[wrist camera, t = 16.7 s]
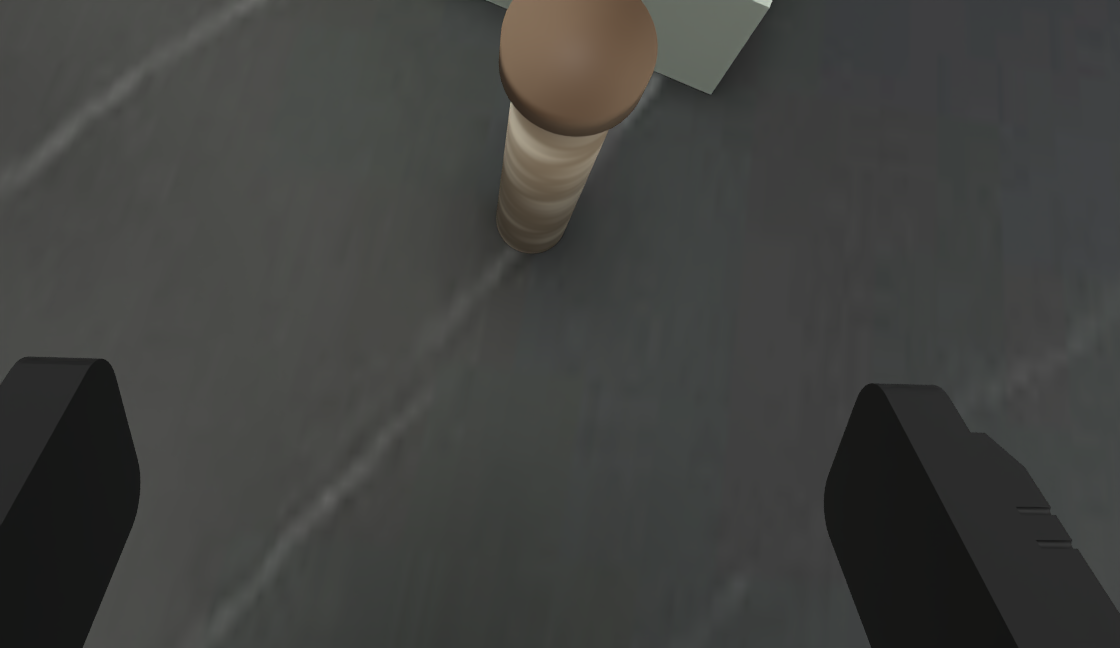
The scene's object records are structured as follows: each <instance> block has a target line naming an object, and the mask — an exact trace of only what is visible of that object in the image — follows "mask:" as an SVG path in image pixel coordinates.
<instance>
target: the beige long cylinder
mask: <svg viewBox="0 0 1120 648" xmlns="http://www.w3.org/2000/svg"><path fill="white" fill-rule="evenodd" d="M657 53H658V42H657V34H656V29H655V25H654V23H653V20H652V17H651V15H650V13H649V11H648V10H647V8H646V6H645V5H644V3H643V2H642V1H641V0H513V1H512V2H511V4H510V6H509V7H508V9H507V11H506V14H505V17H504V20H503V24H502V29H501V40H500V52H499V72H500V77H501V82H502V84H503V87H504V90H505V92H506V94H507V96H508V98H509V100H510V101H511V103H510V111H509V119H508V127H507V135H506V143H505V150H504V158H503V166H502V174H501V182H500V190H499V198H498V206H497V214H496V223H497V228H498V231H499V233H500V235H501V237H502V238H503V240H504V241H505V242H506V243H507V244H508V245H509V246H510V247H512V248H513V249H515V250H517V251H520V252H523V253H529V254H536V253H541V252H544V251H547V250H549V249H550V248H552V247H553V246H555V245H556V244H557V243H558V242H559V240H560V239H561V237H562V236H563V233H564V231H565V229H566V227H567V224H568V222H569V220H570V217H571V215H572V213H573V211H574V208H575V206H576V204H577V201H578V199H579V197H580V194H581V192H582V190H583V188H584V185H585V183H586V181H587V178H588V176H589V174H590V171H591V169H592V167H593V164H594V162H595V160H596V158H597V155H598V153H599V151H600V148H601V146H602V144H603V141H604V139H605V137H606V135H607V132H608V130H609V129H611V128H613V127H614V126H616V125H618V124H619V123H621V122H622V121H623V120H624V119H625V118H626V117H628V115H629V114H630V113H631V112H632V111H633V110H634V108H635V107H636V105H637V104H638V102H639V100H640V98H641V96H642V94H643V92H644V90H645V88H646V86H647V84H648V82H649V80H650V78H651V76H652V74H653V71H654V68H655V65H656V60H657Z"/></svg>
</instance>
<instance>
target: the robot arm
mask: <svg viewBox="0 0 1120 648" xmlns="http://www.w3.org/2000/svg"><path fill="white" fill-rule="evenodd" d="M139 496H140V470H139V464H138V459H137V455H136V452H135V448H134V444H133V440H132V437H131V433H130V429H129V425H128V421H127V418H126V414H125V410H124V406H123V402H122V399H121V395H120V391H119V387H118V384H117V380H116V376H115V373H114V370H113V368H112V366H111V365H110V364H109V362H108V361H106V360H104V359H92V358H57V357H24V358H22V359H20V360H19V361H18V362H16V363H15V365H14V366H13V367H12V368H11V370H10V371H9V373H8V374H7V376H6V377H5V379H4V380H3V382H2V383H1V385H0V648H83V645H84V643H85V640H86V638H87V636H88V633H89V631H90V628H91V626H92V623H93V621H94V619H95V616H96V614H97V611H98V609H99V606H100V604H101V601H102V599H103V597H104V594H105V592H106V589H107V587H108V584H109V582H110V579H111V577H112V575H113V572H114V570H115V567H116V565H117V562H118V560H119V558H120V555H121V553H122V550H123V548H124V545H125V543H126V540H127V538H128V536H129V533H130V531H131V528H132V526H133V523H134V520H135V517H136V513H137V508H138V503H139ZM1050 508H1051V507H1050V505H1049V504H1048V502H1047V501H1046V499H1045V498H1044V496H1043V495H1042V493H1041V492H1040V490H1039V488H1038V487H1037V485H1036V484H1035V482H1034V481H1033V479H1032V478H1031V476H1030V475H1029V473H1028V471H1027V470H1026V468H1025V467H1024V466H1023V465H1021V464H1020V463H1019V462H1018V461H1017V460H1016V459H1015V458H1013V457H1012V456H1011V455H1010V454H1009V453H1008V452H1006V451H1005V450H1004V449H1003V448H1002V447H1001V446H999V445H998V444H997V443H996V442H995V441H994V440H993V439H991V438H990V437H989V436H988V435H987V434H986V433H971V432H970V431H969V429H968V427H967V426H966V424H965V423H964V421H963V419H962V418H961V416H960V414H959V413H958V411H957V409H956V408H955V406H954V404H953V403H952V401H951V399H950V398H949V396H948V395H947V394H946V392H945V391H944V390H943V389H942V388H940V387H938V386H935V385H908V384H874V383H872V384H868V385H866V386H865V387H864V388H863V389H862V390H861V392H860V393H859V395H858V397H857V400H856V402H855V405H854V408H853V410H852V413H851V416H850V418H849V421H848V424H847V427H846V429H845V432H844V435H843V437H842V440H841V443H840V445H839V448H838V451H837V453H836V456H835V459H834V461H833V464H832V467H831V469H830V472H829V475H828V478H827V481H826V486H825V493H824V513H825V521H826V526H827V530H828V534H829V537H830V539H831V542H832V545H833V547H834V550H835V553H836V555H837V558H838V561H839V563H840V566H841V568H842V571H843V574H844V576H845V579H846V582H847V584H848V587H849V590H850V592H851V595H852V598H853V600H854V603H855V605H856V608H857V611H858V613H859V616H860V619H861V621H862V624H863V627H864V629H865V632H866V635H867V637H868V640H869V642H870V645H871V648H1120V613H1119V612H1118V610H1117V609H1116V607H1115V606H1114V604H1113V603H1112V601H1111V600H1110V598H1109V596H1108V595H1107V593H1106V592H1105V590H1104V589H1103V587H1102V586H1101V584H1100V583H1099V581H1098V579H1097V578H1096V576H1095V575H1094V573H1093V572H1092V570H1091V569H1090V567H1089V566H1088V564H1087V562H1086V561H1085V559H1084V558H1083V556H1082V555H1081V553H1080V552H1079V550H1078V549H1073V548H1072V545H1071V542H1072V539H1071V538H1070V536H1069V535H1068V533H1067V532H1066V530H1065V529H1064V527H1063V525H1062V524H1061V522H1060V521H1059V519H1058V518H1057V516H1056V515H1051V513H1050Z"/></svg>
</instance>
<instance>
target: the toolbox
mask: <svg viewBox="0 0 1120 648" xmlns="http://www.w3.org/2000/svg"><path fill="white" fill-rule="evenodd" d="M487 1H489V2H491V3H494V4H496V5H498V6H501V7H503V8H506V9H508V7H509V6H510V4H511V2H512V1H513V0H487ZM641 1H642V2H643V3H644V5H645V6H646V8H647V10H648V11H649V13H650V15H651V17H652V20H653V23H654V25H655V29H656V34H657V42H658V53H657V60H656V65H655V68H654V71H655V72H658V73H660V74H662V75H665V76H667V77H669V78H672V79H674V80H677V81H679V82H681V83H684V84H686V85H688V86H691V87H693V88H696V89H698V90H700V91H703V92H705V93H707V94H710V95H711V94H712V92H713V91H714V89H715V88H716V86H717V85H718V84H719V82H720V81H721V79H722V78H723V76H724V75H725V73H726V72H727V70H728V69H729V67H730V66H731V64H732V63H733V61H734V60H735V58H736V57H737V55H738V54H739V52H740V51H741V49H742V48H743V46H744V45H745V43H746V42H747V40H748V39H749V37H750V36H751V34H752V33H753V31H754V30H755V28H756V27H757V26H758V24H759V23H760V21H761V20H762V18H763V17H764V15H765V14H766V12H767V11H768V9H769V8H770V5H771V2H772V0H641Z"/></svg>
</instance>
